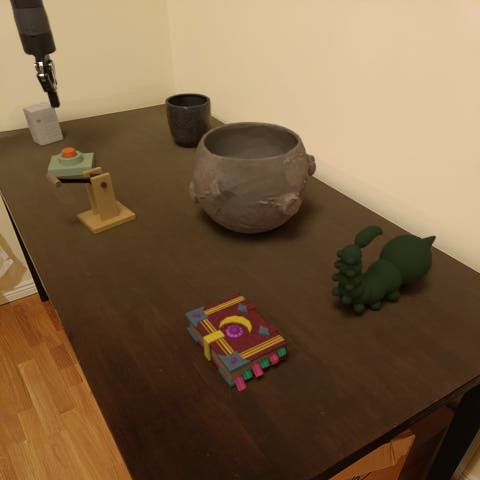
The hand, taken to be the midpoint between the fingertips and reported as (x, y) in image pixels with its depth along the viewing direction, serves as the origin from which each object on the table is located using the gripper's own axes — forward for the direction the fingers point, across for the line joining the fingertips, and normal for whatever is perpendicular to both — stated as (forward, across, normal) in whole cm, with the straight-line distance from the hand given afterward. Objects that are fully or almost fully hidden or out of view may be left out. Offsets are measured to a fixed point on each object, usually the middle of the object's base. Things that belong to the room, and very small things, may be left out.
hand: (56, 106), depth 114 cm
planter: (+17, -13, +36) cm, 42 cm away
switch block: (+17, 0, 0) cm, 17 cm away
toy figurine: (+17, +70, +65) cm, 97 cm away
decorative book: (+17, +79, +35) cm, 88 cm away
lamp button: (+13, 0, 0) cm, 13 cm away
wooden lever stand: (+17, +31, +11) cm, 37 cm away
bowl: (+17, +39, +45) cm, 62 cm away
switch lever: (+7, +33, +7) cm, 35 cm away
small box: (+17, -23, -10) cm, 30 cm away
